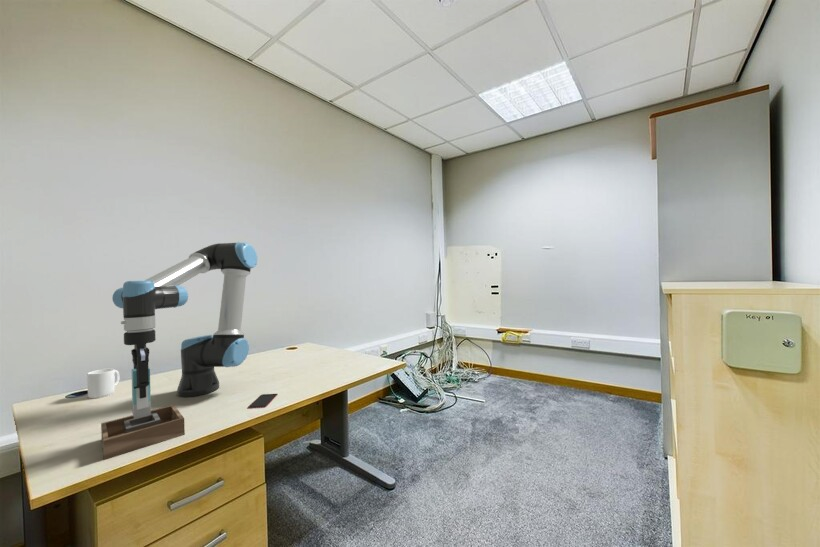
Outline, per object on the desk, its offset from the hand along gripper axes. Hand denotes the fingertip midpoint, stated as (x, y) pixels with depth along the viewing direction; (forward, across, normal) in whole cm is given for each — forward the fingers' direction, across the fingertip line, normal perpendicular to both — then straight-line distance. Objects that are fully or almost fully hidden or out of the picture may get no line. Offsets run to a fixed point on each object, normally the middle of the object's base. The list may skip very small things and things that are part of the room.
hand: (141, 405), depth 99 cm
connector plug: (+3, 0, 0) cm, 3 cm away
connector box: (+9, +2, 0) cm, 9 cm away
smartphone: (+10, +1, +36) cm, 37 cm away
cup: (+9, -62, -6) cm, 63 cm away
